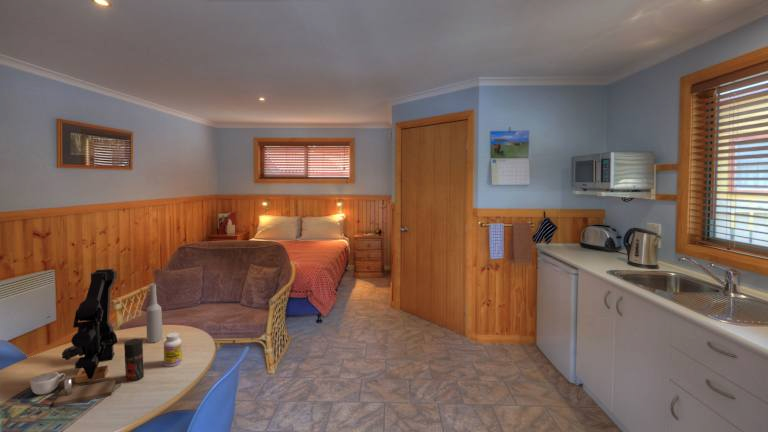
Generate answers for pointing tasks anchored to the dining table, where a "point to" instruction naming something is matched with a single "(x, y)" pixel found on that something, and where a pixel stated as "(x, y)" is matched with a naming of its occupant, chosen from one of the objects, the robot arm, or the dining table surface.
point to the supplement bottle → (172, 350)
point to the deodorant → (134, 360)
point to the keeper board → (86, 393)
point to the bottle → (154, 318)
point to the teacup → (45, 382)
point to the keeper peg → (68, 386)
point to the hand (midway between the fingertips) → (92, 374)
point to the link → (98, 374)
